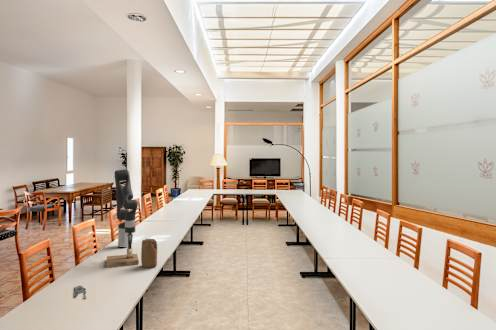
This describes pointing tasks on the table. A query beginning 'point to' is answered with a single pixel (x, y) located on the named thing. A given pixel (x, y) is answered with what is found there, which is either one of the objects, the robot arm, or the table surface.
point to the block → (149, 253)
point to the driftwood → (79, 291)
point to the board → (121, 260)
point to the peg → (129, 253)
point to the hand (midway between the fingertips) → (129, 248)
